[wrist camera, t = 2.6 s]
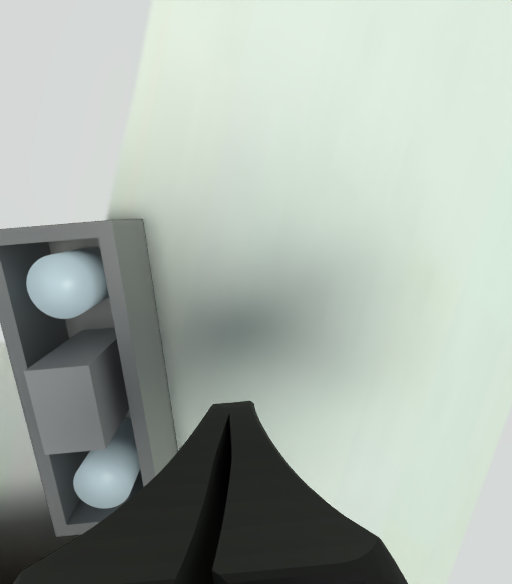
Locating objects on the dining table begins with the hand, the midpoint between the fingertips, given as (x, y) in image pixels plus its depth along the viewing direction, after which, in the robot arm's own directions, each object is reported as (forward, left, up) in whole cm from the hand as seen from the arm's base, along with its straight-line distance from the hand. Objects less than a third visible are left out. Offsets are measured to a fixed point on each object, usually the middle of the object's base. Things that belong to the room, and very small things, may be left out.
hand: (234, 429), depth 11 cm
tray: (-7, 0, -7) cm, 10 cm away
